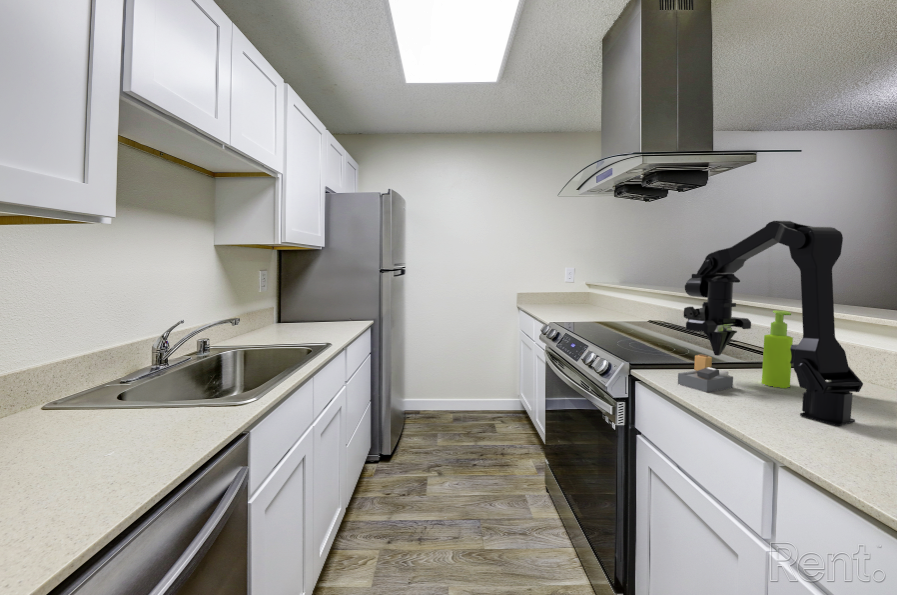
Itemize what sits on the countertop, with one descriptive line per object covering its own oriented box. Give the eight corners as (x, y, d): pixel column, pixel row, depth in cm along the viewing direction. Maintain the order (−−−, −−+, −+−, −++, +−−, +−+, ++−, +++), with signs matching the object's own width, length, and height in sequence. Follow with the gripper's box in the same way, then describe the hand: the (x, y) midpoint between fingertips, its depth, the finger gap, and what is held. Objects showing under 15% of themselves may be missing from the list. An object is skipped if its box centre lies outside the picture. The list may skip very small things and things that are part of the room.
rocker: (719, 374, 103) (719, 369, 103) (708, 379, 102) (708, 373, 101) (707, 372, 106) (707, 366, 106) (697, 376, 104) (696, 370, 104)
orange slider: (711, 371, 109) (711, 355, 109) (704, 372, 108) (705, 356, 108) (700, 369, 112) (701, 353, 112) (694, 370, 111) (694, 354, 111)
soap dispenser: (769, 388, 105) (773, 311, 104) (757, 381, 112) (761, 309, 110) (796, 390, 103) (801, 312, 102) (783, 383, 110) (787, 309, 109)
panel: (732, 387, 105) (733, 371, 105) (706, 392, 102) (707, 375, 101) (703, 380, 113) (703, 365, 113) (677, 383, 109) (678, 368, 109)
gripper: (713, 296, 122) (711, 347, 123) (669, 297, 115) (667, 352, 116) (753, 298, 112) (750, 354, 113) (707, 300, 105) (704, 360, 106)
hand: (717, 355), depth 112 cm, fingers closed
